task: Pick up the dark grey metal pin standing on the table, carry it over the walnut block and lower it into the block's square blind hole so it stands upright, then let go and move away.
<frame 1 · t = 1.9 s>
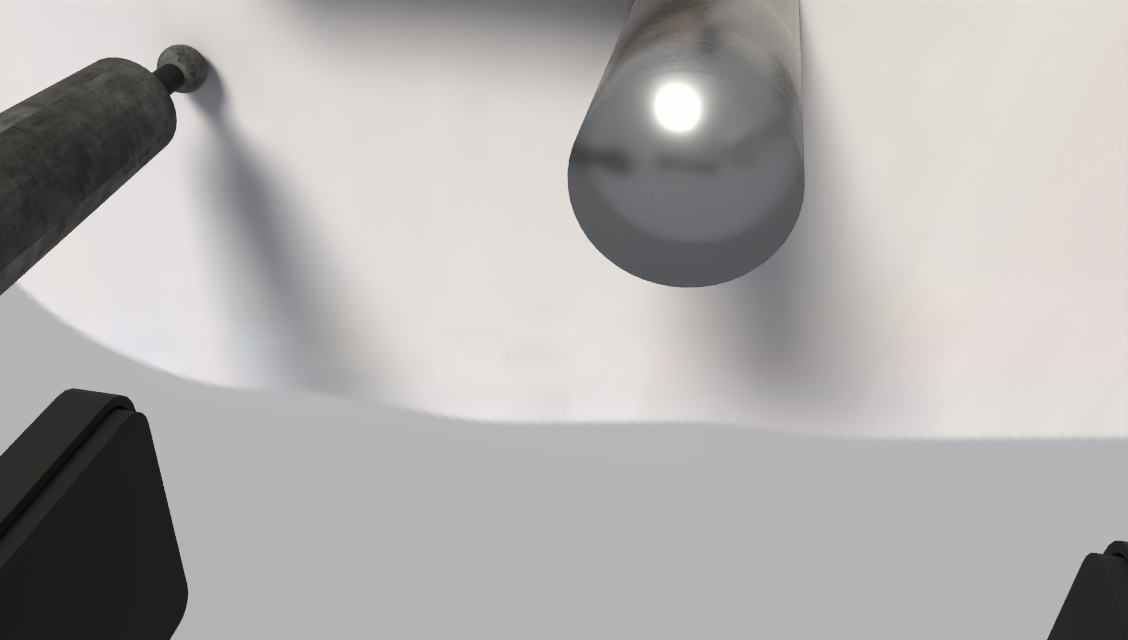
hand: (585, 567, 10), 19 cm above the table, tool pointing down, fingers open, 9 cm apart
pin: (717, 11, 26), on the table
microphone: (196, 58, 29), on the table
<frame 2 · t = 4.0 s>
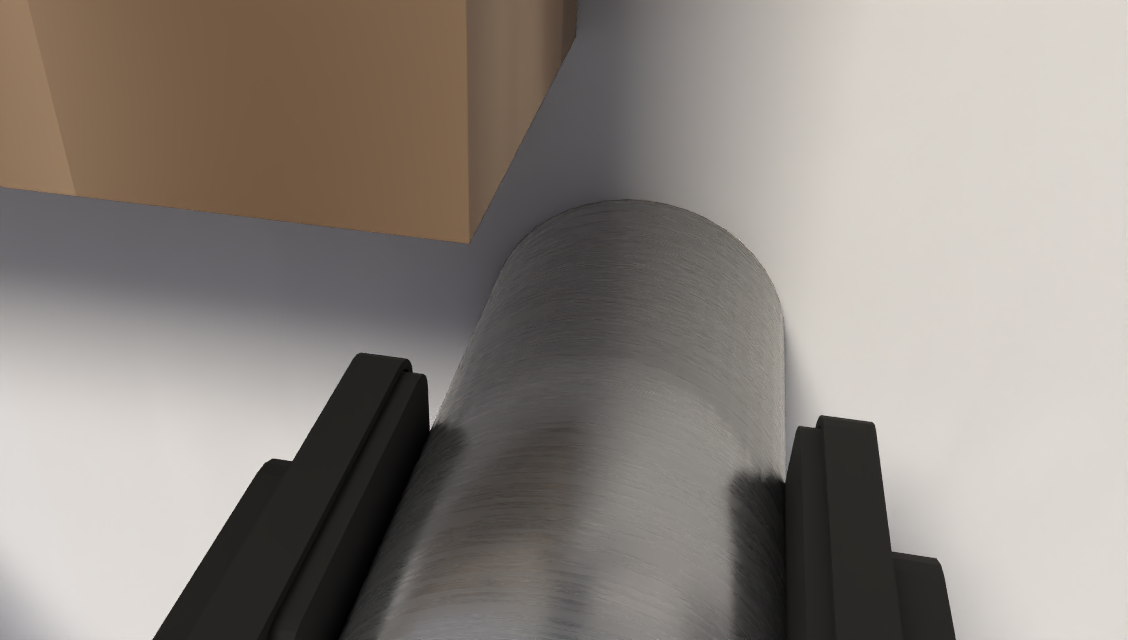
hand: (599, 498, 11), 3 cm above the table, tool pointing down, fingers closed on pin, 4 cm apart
pin: (634, 331, 14), on the table, touching gripper
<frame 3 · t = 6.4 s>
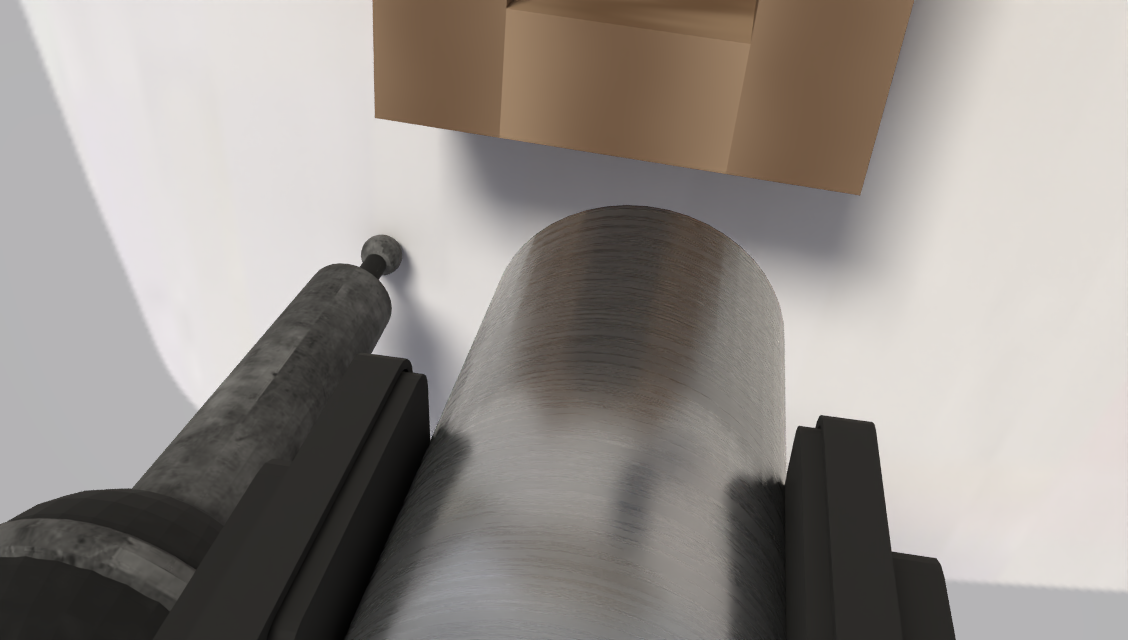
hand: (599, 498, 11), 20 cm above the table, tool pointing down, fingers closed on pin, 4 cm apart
pin: (635, 336, 14), point 16 cm above the table, touching gripper
microphone: (390, 242, 34), on the table
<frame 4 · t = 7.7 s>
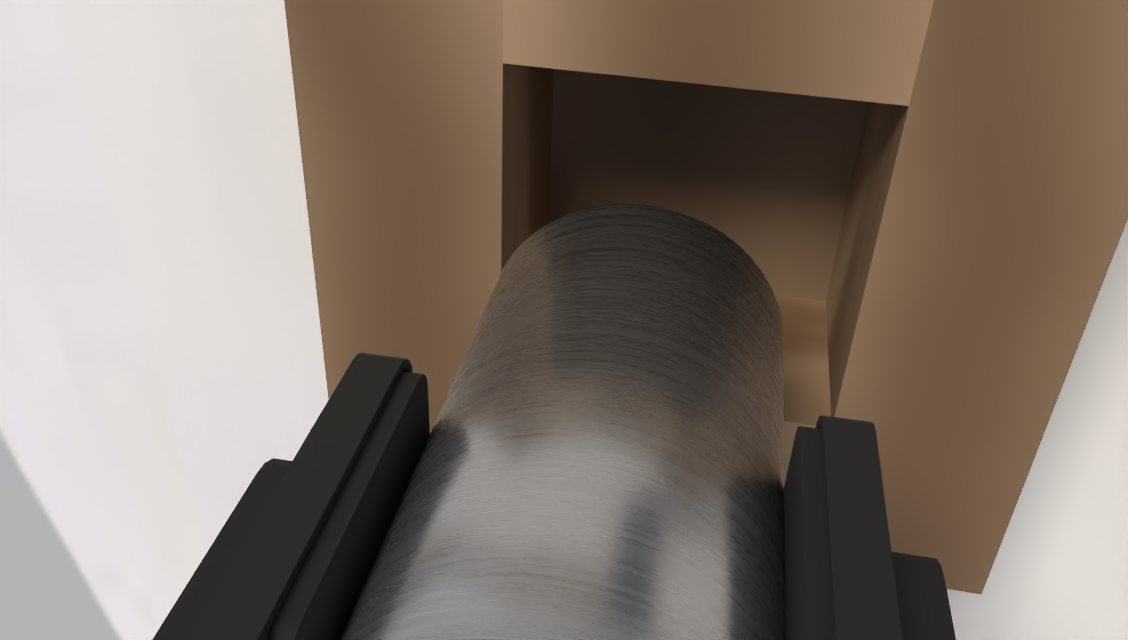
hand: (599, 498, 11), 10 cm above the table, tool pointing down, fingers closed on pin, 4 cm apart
pin: (633, 335, 14), point 7 cm above the table, touching gripper
socket block: (703, 132, 20), on the table
when the fingers open (6 cm above the table, at t = 8.9 s): pin drops 2 cm, resting on socket block.
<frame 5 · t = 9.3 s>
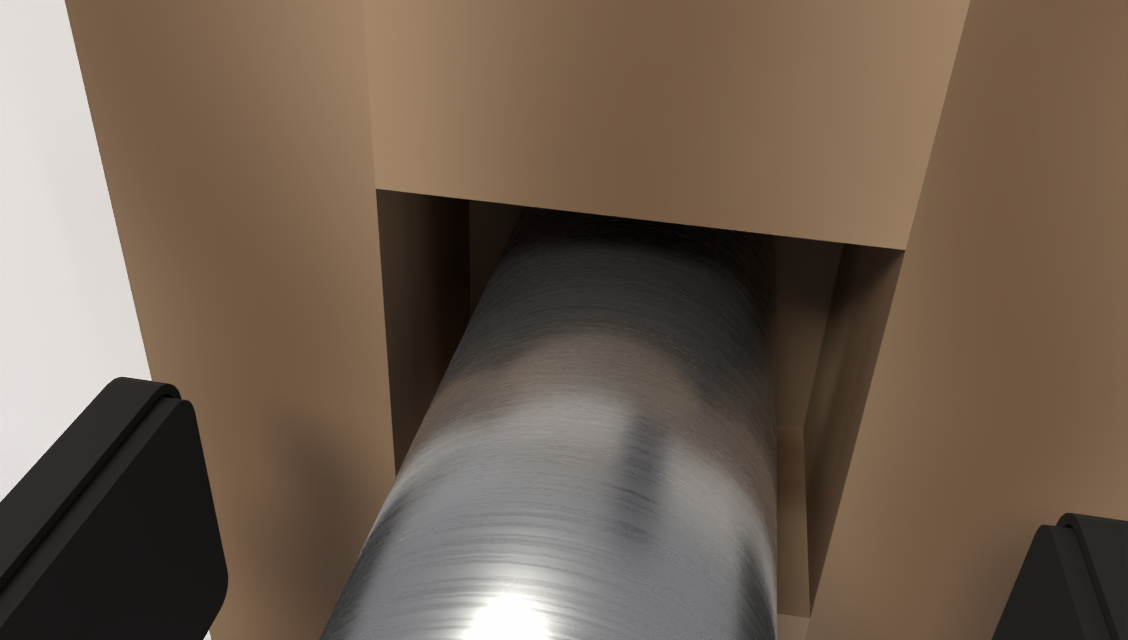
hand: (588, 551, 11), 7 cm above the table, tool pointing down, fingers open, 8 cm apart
pin: (642, 263, 16), point 1 cm above the table, touching socket block
socket block: (654, 230, 16), on the table
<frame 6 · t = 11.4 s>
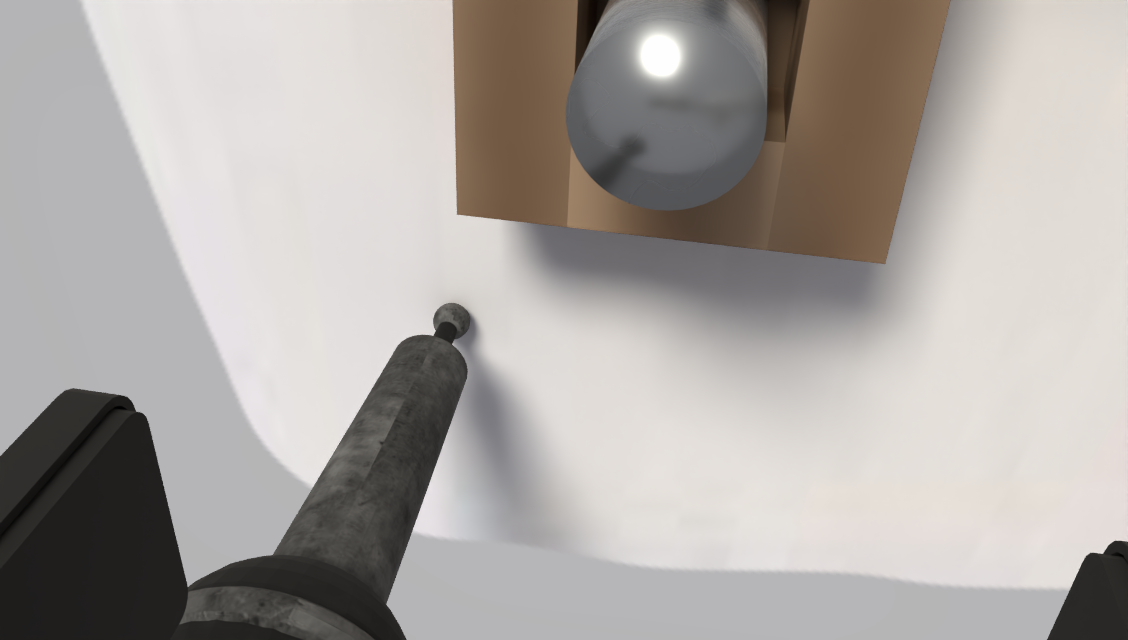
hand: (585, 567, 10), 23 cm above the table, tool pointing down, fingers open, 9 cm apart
microphone: (457, 308, 37), on the table
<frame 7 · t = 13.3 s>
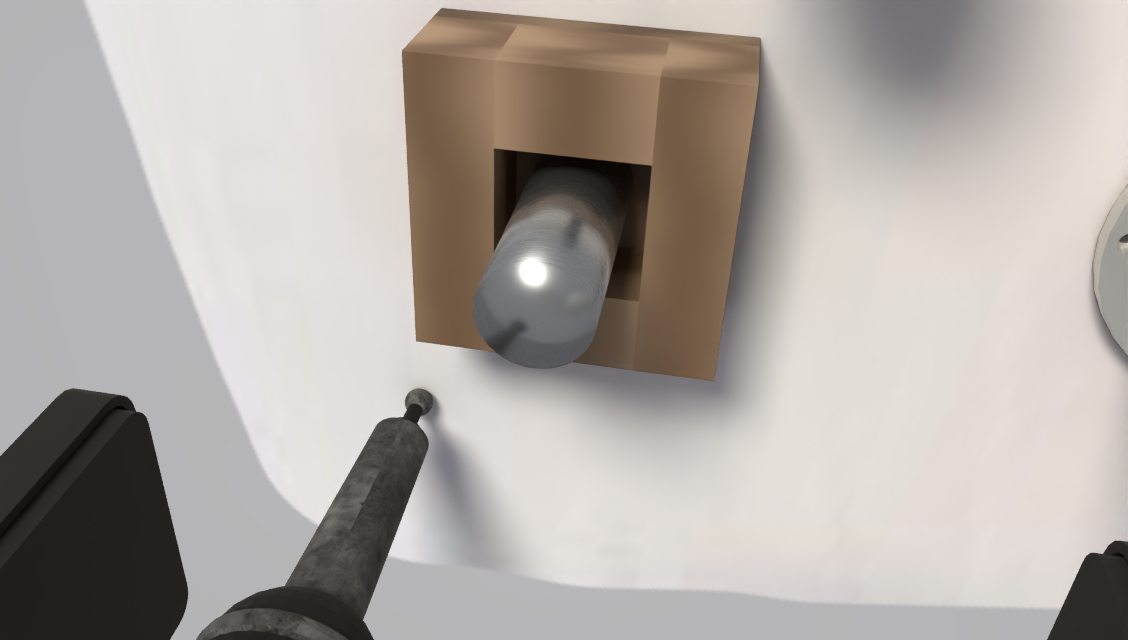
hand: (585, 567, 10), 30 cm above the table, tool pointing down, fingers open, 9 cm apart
pin: (583, 181, 41), point 1 cm above the table, touching socket block
socket block: (589, 169, 41), on the table
microphone: (423, 391, 49), on the table
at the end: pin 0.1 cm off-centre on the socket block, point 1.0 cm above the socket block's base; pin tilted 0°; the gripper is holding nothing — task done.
